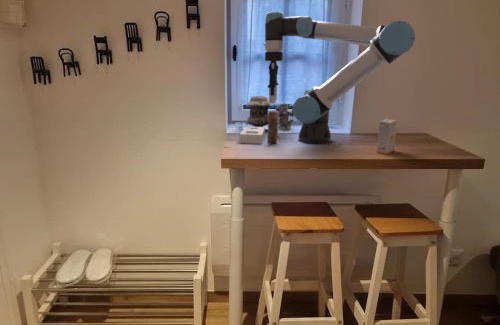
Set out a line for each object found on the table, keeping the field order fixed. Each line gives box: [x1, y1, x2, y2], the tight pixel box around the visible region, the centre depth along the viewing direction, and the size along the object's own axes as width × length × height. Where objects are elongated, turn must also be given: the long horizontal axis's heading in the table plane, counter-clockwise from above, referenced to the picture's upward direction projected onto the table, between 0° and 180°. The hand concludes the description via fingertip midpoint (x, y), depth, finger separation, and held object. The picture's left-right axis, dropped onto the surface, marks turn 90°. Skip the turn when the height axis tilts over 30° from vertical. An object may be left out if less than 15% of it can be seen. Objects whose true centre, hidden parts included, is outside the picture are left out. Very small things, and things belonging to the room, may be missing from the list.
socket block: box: [239, 126, 266, 145], centre depth 174 cm, size 10×20×4 cm, turn 174°
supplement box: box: [376, 118, 399, 155], centre depth 151 cm, size 8×5×13 cm, turn 141°
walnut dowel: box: [267, 110, 278, 145], centre depth 165 cm, size 4×4×14 cm
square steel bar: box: [277, 111, 280, 138], centre depth 179 cm, size 4×4×12 cm
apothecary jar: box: [247, 95, 271, 133], centre depth 191 cm, size 12×12×18 cm
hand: (273, 101), depth 162 cm, fingers open, 13 cm apart
